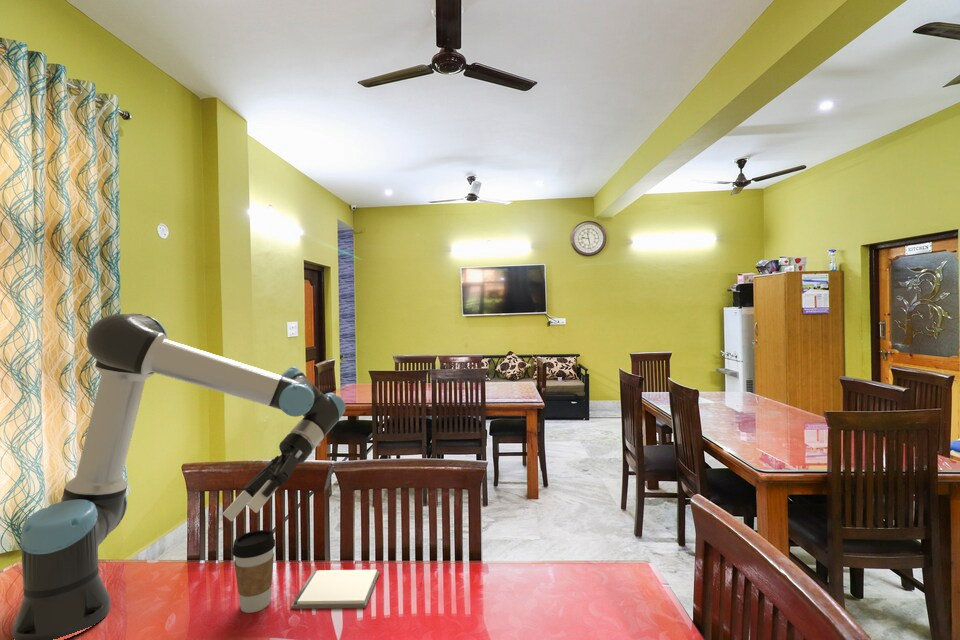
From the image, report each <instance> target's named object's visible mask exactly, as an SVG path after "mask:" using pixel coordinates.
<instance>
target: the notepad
mask: <svg viewBox="0 0 960 640" xmlns="http://www.w3.org/2000/svg"><path fill="white" fill-rule="evenodd" d="M379 575H380V571H378V569H333V570H332V569H328V570H327V569H326V570H325V569H324V570H321V569H319V570H316V571H315V570H314V571H312V572H311V574H310V575H309V577H308V578H307V580H306V581H305V583H304V584H303V586H302V587H301V589H300V591H299V592H298V593H297V595H296V596H295V598H294V600H293V602H292V604H291V605H290V609H291V610H293V609H295V610H297V609H303V610H304V609H366V608H367V605H368V603H369V601H370V599H371V596H372V593H373V590H374V589H375V586H376V584H375V583H377V581H378V579H377V578H379Z"/></svg>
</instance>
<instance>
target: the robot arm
mask: <svg viewBox="0 0 960 640" xmlns="http://www.w3.org/2000/svg"><path fill="white" fill-rule="evenodd" d="M86 347H87V350H88V351H89V354H90V355H91V356H92V357H93V358H94V359H95V361H96V362H95V365H94V367H95V369H96V370H97V372H99V374H100V379H99V383H98V386H97V391H96V395H95V398H94V399H95V400H94V402H93V403H94V404H93V408H92V411H91V415H90V420H89V422H88V427H87V431H86V435H85V439H84V443H83V447H82V450H81V454H80V459H79V463H78V466H77V470H76V474H75V477H74V478H72V479H70V480H69V481H67V482H66V483H65V485H64V488H63V492H62V496H61V500H60V502H59V501H58V502H57V503H56V502H55V503H53V504H50V505H49V506H48V507H44V508H41V509H39V510H37V511H36V512H34V513H32V514H30V515H29V516H28V517H27V518H26V519H25V521H24V522H23V523H22V527H21V535H20V539H19V544H20V547H21V548H20V553H21V567H22V587H23V588H22V589H23V598H22V600H21V603H20V606H19V610H18V612H17V615H16V618H15V621H14V623H13V626H12V639H13V638H14V639H15V640H53V639H58V638H60V637H63V636H66V635H69V634H72V633H75V632H77V631H80V630H83V629H85V628H88V627H90V626H93V625H94V624H96V623H98V622H99V621H100V620H101V621H102V620H104V619H105V618H106V617H105V616H107V615H108V614H109V613H110V611H111V598H110V597H111V596H110V594H109V592H108V590H107V588H106V586H105V584H104V582H103V580H102V578H101V577H100V572H99V546H100V545H101V544H102V543H103V542H104V540H106V538H107V537H108V536H109V535H110V534H111V533H112V532H113V531H114V530H115V529H116V528H117V527H118V526H119V524H120V523H121V521H122V520H123V519H124V517H125V514H126V513H127V512H126V511H127V508H128V498H127V494H126V492H127V489H128V482H127V481H126V479H124V478H123V473H124V469H125V465H126V462H127V461H126V460H127V456H128V453H129V448H130V444H131V441H132V435H133V432H134V429H135V424H136V420H137V415H138V412H139V408H140V404H141V400H142V396H143V390H144V389H145V388H144V387H145V384H146V383H145V382H146V380H147V379H148V378H151V376H153V375H155V374H157V375H161V376H165V377H168V378H171V379H175V380H178V381H182V382H185V383H187V384H188V383H189V384H192V385H195V386H199V387H202V388H204V389H205V388H206V389H209V390H213V391H216V392H220V393H222V394H223V393H224V394H227V395H230V396H233V397H235V398H236V397H237V398H239V399H244V400H248V401H252V402H255V403H256V404H257V403H258V404H260V405H261V404H262V405H265V406H268V407H270V408H274V409H277V410H280V411H282V412H283V413H284V414H286V415H287V416H290V417H295V418H296V417H301V416H303V418H302V419H301V420H300V421H299V422H297V424H296V425H295V426H294V427H293V428H292V429H291V431H289V433H288V434H287V435H286V436H285V437H284V438H283V440H282V441H281V442H280V443H279V445H278V446H279V447H278V448H279V451H280V453H281V454H280V455H277V456H275V457H274V458H273V459H270V461H269V463H268V464H267V465H266V466H264V467H263V469H262V470H260V471H259V473H257V475H255V476H254V477H253V478H252V479H251V480H250V481H249V482H248V483H247V484H246V485H245V486H244V487H242V489H241V493H240V494H239V495H238V496H237V497H236V498H235V499H234V500H233V501H232V502H231V503H230V505H229V506H228V507H227V508H226V509H225V510H224V511H223V512H222V515H223V516H224V517H225V518H226V519H228V520H229V521H230V522H233V521H234V520H235V518H236V517H238V515H239V514H240V513H241V512H242V511H243V509H244V508H245V507H246V506H247V507H248V508H250V510H252V511H253V512H254V513H255V514H257V513H259V511H260V510H261V509H262V508H263V506H264V505H265V504H266V503H267V502H268V501H269V499H270V498H271V497H272V496H273V494H275V492H276V491H277V490H278V489H279V487H281V486H282V485H283V484H284V483H285V484H286V483H288V481H289V479H290V477H291V476H292V474H293V473H294V471H295V470H296V468H297V466H298V464H303V463H305V461H306V460H307V459H308V458H309V457H310V455H312V453H313V451H314V450H315V449H316V448H317V447H320V446H321V444H322V443H321V442H322V441H323V439H324V438H325V437H326V436H327V435H328V434H329V432H330V431H331V430H332V429H333V428H334V426H335V425H336V424H337V423H338V422H339V421H340V420H341V419H342V417H343V415H344V414H345V412H346V407H347V406H346V403H345V401H344V400H343V398H342V397H341V396H338V395H337V394H336V393H333V392H327V393H325V394H324V393H323V392H322V391H320V389H319V388H317V386H315V385H314V383H313V382H312V381H311V380H310V379H309V378H308V377H307V376H306V375H305V373H304V372H302V371H301V370H300V369H299V368H298V367H297V366H291V367H289V368H287V370H285V371H284V372H282V373H281V375H280V374H277V373H274V372H270V371H267V370H264V369H263V368H262V369H261V368H258V367H255V366H252V365H249V364H245V363H243V362H240V361H239V362H238V361H235V360H233V359H230V358H226V357H224V356H221V355H218V354H217V355H216V354H213V353H211V352H208V351H205V350H202V349H201V350H200V349H198V348H196V347H193V346H192V347H191V346H189V345H186V344H182V343H179V342H176V341H173V340H170V339H168V334H167V331H166V329H165V327H164V326H163V324H162V323H161V322H160V321H158V320H157V319H156V318H154V317H151V316H149V315H146V314H142V313H134V312H133V313H127V314H126V313H117V314H116V313H115V314H111V315H107V316H105V317H103V318H102V317H101V318H100V319H98V320H97V321H96V322H94V324H93V325H92V326H91V327H90V329H89V331H88V332H87V335H86ZM109 610H110V611H109ZM108 612H109V613H108ZM107 613H108V614H107ZM104 617H105V618H104ZM103 618H104V619H103ZM101 621H100V622H101ZM100 622H99V623H100ZM99 623H98V624H99ZM96 625H97V624H96ZM93 627H94V626H93Z"/></svg>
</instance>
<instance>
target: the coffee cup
mask: <svg viewBox="0 0 960 640" xmlns="http://www.w3.org/2000/svg"><path fill="white" fill-rule="evenodd" d="M274 536H275V535H274V532H273V530H270V529H269V530H268V529H262V530H260V529H259V530H252V531H248V532H245V533H243V534H241V535H239V536H237V537H236V538H235V539H234V541H233V546H232V556H233V557H234V560H235V561H234V569H235V576H236V582H237V583H236V584H237V590H238V592H237V593H238V595H239V597H238V598H239V606H240V607H239V608H240V610H241V611H242V612H243V613H247V614H250V613H257V612H260V611H262V610H264V609H265V608H267V607H268V606H269V605H270V603H271V599H272V585H273V584H272V583H273V574H274V573H273V572H274V570H273V569H274V558H275V556H274V555H275V554H274V553H275V552H274V548H275V547H276V540H275V537H274Z"/></svg>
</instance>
